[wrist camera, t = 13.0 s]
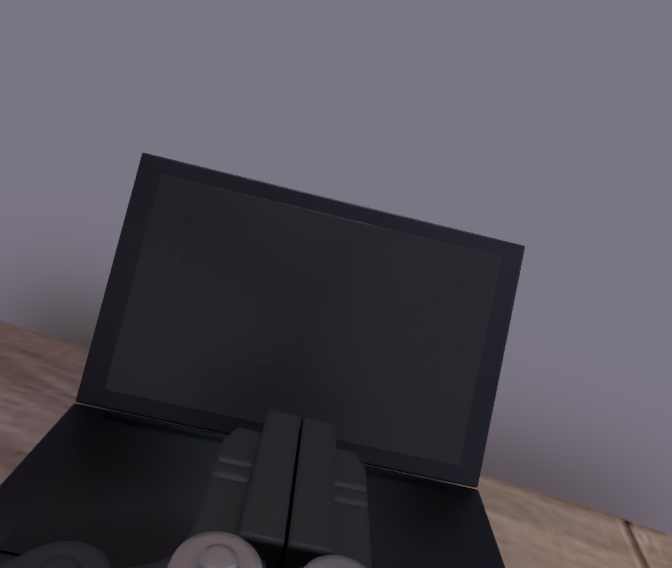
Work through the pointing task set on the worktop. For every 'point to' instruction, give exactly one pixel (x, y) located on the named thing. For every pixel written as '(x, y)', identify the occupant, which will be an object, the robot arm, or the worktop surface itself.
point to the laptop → (187, 492)
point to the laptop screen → (303, 319)
